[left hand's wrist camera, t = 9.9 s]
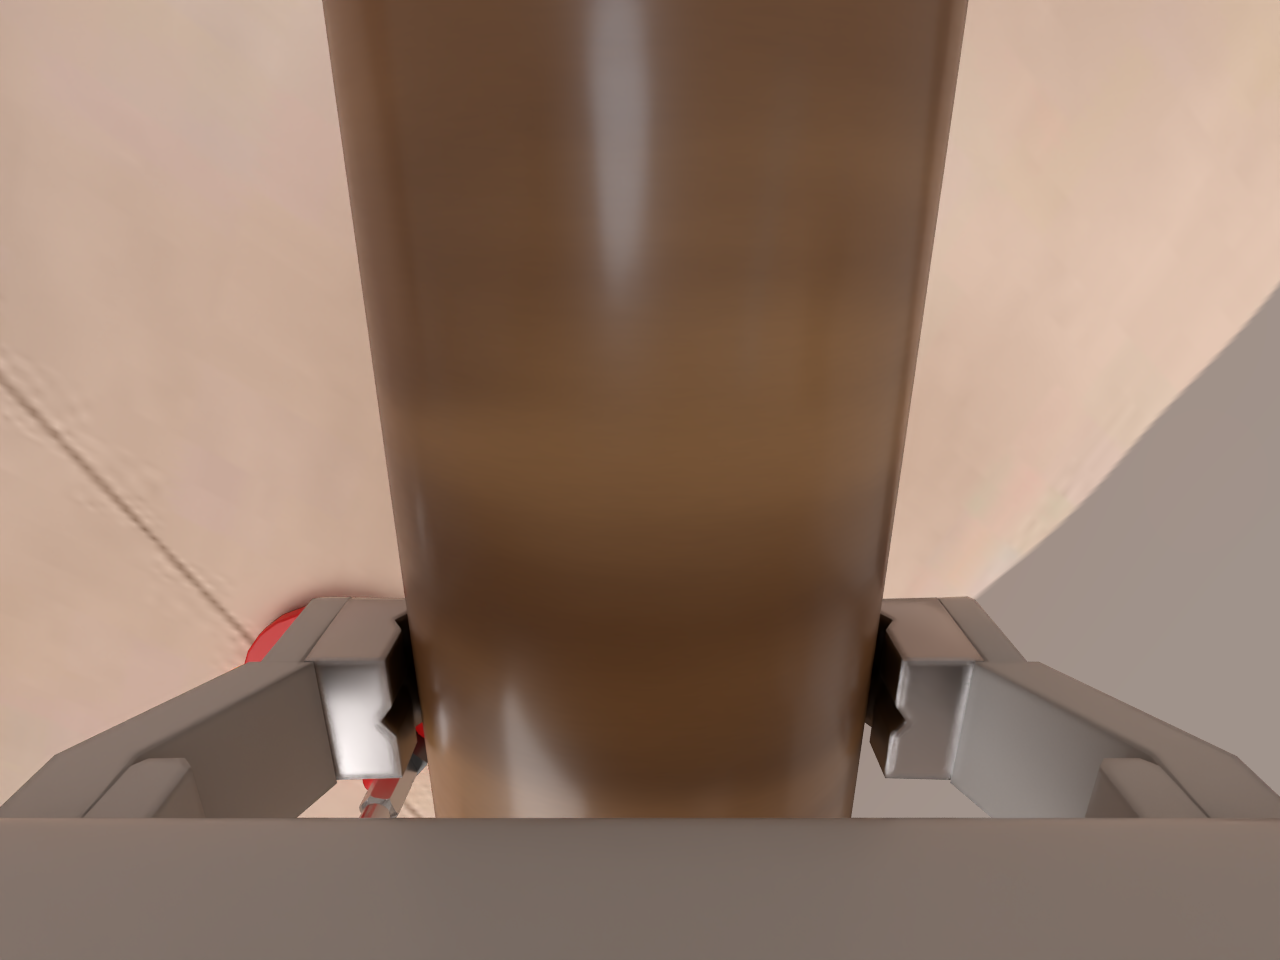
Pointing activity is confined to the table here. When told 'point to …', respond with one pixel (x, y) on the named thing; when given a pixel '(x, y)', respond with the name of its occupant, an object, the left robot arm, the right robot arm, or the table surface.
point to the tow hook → (381, 794)
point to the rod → (644, 379)
